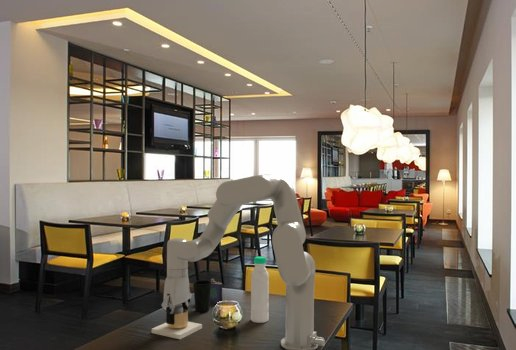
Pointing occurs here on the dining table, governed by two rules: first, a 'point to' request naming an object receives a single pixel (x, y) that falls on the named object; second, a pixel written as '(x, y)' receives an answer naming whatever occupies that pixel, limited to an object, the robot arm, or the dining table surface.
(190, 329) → the stand
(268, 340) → the dining table surface
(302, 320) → the robot arm
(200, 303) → the cup
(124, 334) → the dining table surface
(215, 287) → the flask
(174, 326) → the collar
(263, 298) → the water bottle
